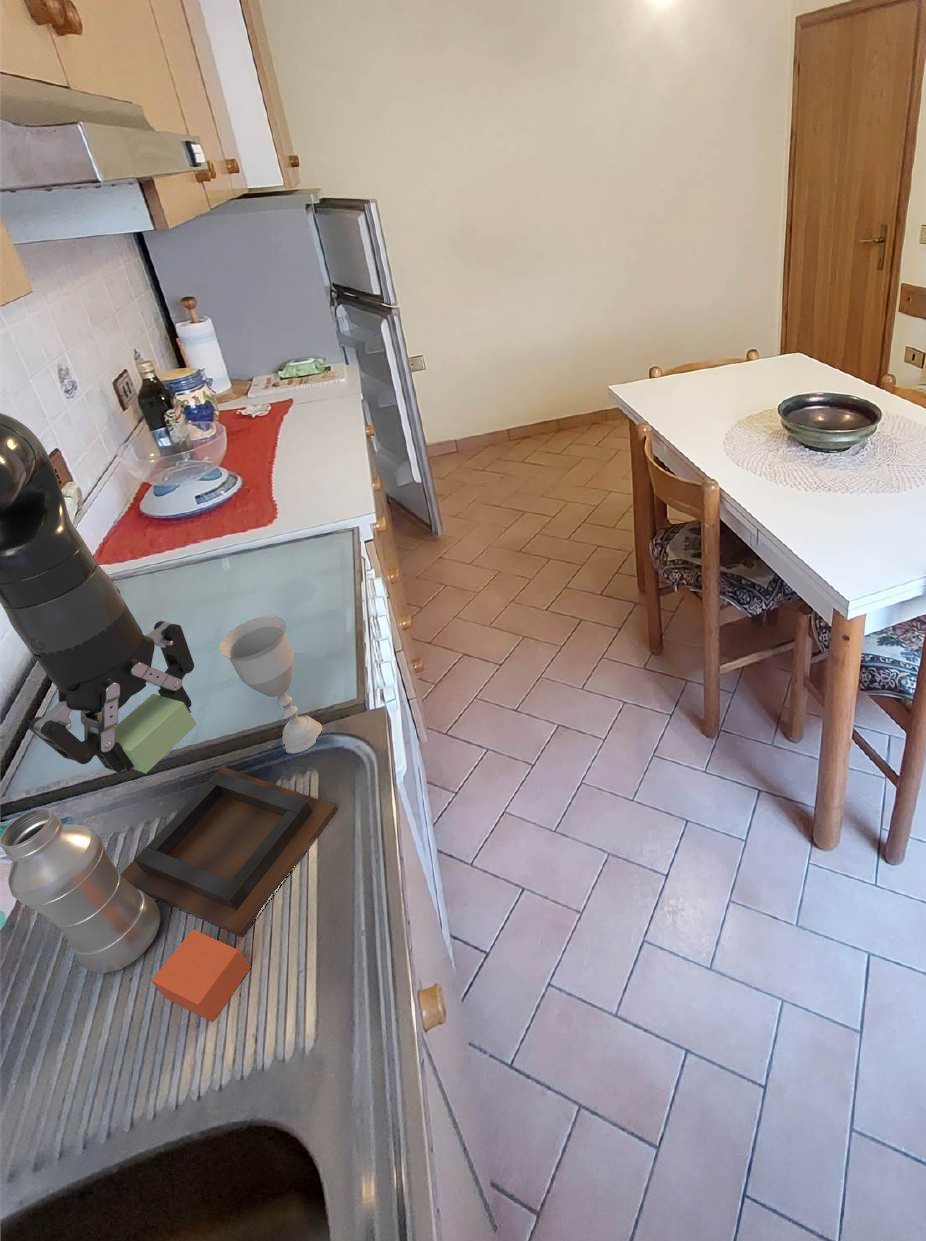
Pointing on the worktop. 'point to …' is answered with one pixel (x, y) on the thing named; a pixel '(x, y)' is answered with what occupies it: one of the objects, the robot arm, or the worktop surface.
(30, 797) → the worktop surface
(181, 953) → the terracotta pad
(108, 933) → the metal milk can
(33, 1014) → the worktop surface
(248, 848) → the back frame
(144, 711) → the sage pad
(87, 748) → the robot arm
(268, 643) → the chalice
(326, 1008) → the worktop surface
